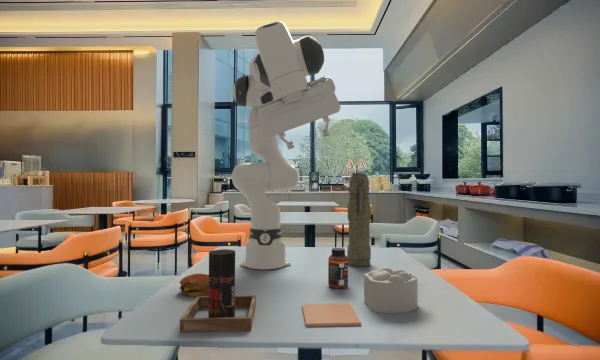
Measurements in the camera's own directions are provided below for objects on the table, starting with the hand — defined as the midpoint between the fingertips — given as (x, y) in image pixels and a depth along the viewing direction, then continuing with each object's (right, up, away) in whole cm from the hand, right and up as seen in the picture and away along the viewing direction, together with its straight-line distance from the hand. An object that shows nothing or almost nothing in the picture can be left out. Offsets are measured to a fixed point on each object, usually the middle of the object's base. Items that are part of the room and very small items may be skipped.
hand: (309, 142), depth 83 cm
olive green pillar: (+21, -42, +45) cm, 65 cm away
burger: (-31, -42, +11) cm, 53 cm away
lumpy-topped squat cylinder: (+21, -42, +2) cm, 47 cm away
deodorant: (-20, -41, -7) cm, 46 cm away
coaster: (+5, -41, -5) cm, 42 cm away
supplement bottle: (+9, -42, +17) cm, 46 cm away
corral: (-20, -41, -7) cm, 46 cm away
